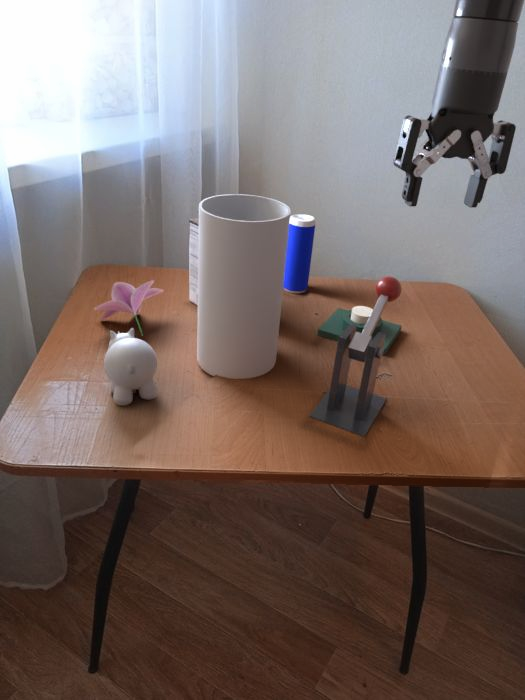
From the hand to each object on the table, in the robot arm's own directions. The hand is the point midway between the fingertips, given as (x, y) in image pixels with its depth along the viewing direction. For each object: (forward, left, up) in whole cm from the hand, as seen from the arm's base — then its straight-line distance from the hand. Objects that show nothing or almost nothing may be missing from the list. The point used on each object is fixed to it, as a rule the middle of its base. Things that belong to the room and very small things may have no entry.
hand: (440, 205), depth 72 cm
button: (+10, -11, -25) cm, 29 cm away
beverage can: (+28, -23, -28) cm, 46 cm away
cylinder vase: (+24, +8, -28) cm, 38 cm away
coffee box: (+38, -9, -28) cm, 48 cm away
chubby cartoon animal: (+34, +22, -28) cm, 50 cm away
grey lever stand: (+4, +11, -28) cm, 31 cm away
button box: (+10, -11, -28) cm, 32 cm away
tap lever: (+4, +5, -16) cm, 18 cm away
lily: (+45, +8, -28) cm, 54 cm away
